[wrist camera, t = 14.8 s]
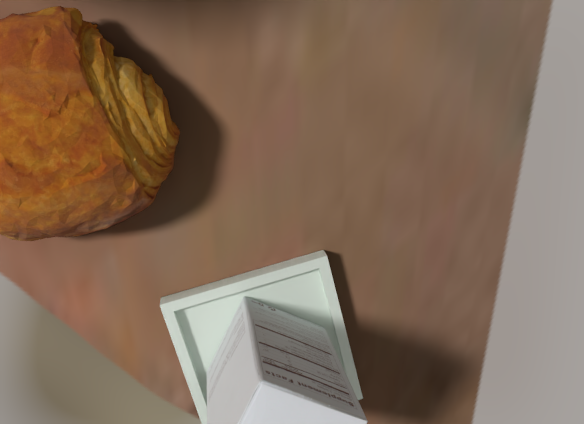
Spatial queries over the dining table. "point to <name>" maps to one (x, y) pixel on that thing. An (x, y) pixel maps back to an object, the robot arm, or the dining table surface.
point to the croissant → (75, 129)
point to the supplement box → (278, 372)
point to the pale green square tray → (263, 288)
